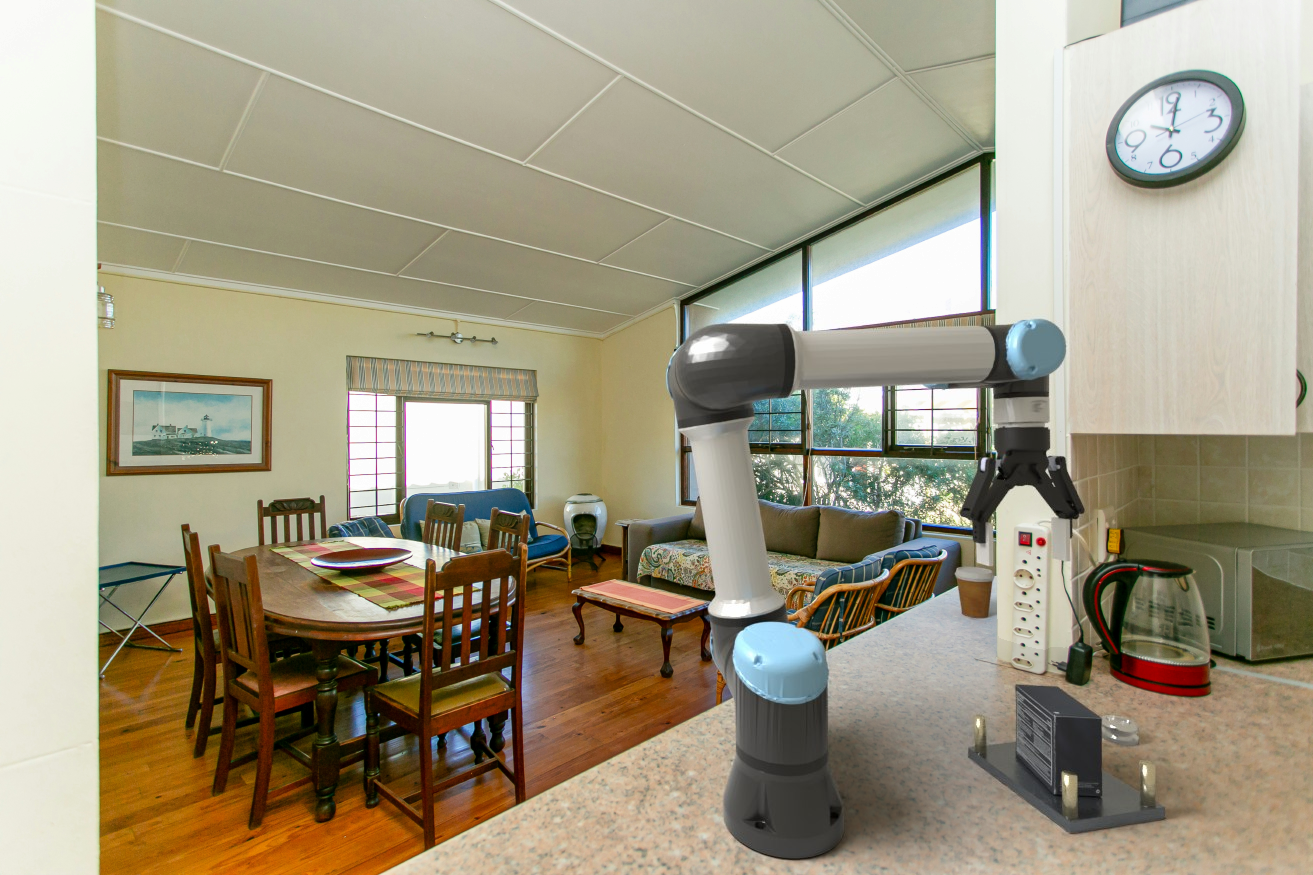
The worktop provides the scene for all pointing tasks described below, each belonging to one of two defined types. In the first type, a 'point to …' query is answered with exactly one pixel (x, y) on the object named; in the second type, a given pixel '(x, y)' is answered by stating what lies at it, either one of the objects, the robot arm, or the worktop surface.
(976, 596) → the disposable coffee cup
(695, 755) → the worktop surface
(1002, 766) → the chassis
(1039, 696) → the small box
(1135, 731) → the metal grooved wheel
